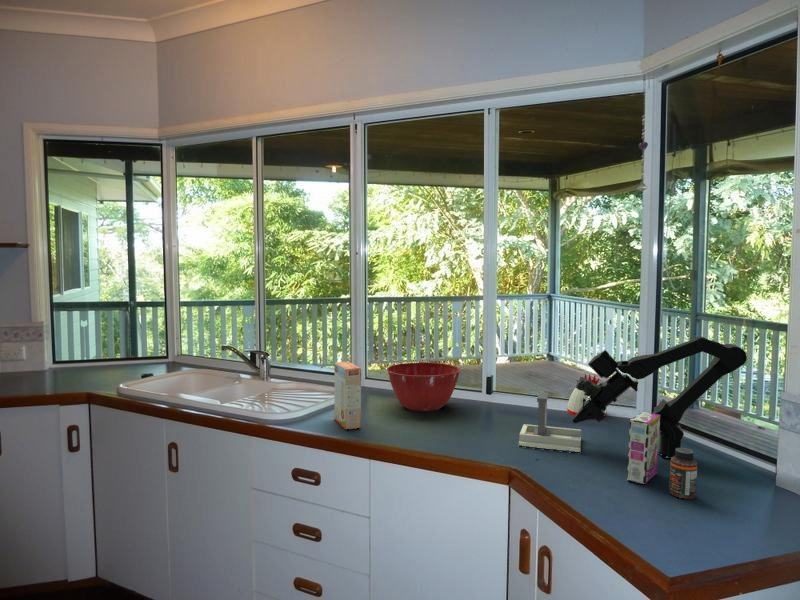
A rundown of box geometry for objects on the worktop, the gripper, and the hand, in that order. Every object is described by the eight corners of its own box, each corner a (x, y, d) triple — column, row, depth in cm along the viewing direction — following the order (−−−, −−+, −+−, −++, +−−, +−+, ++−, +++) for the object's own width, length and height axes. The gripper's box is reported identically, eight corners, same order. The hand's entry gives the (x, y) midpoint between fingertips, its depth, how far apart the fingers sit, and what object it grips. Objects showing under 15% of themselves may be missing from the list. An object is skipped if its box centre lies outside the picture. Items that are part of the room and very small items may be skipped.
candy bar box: (646, 486, 143) (648, 423, 142) (626, 481, 146) (628, 419, 145) (658, 473, 151) (661, 413, 150) (639, 469, 155) (641, 410, 153)
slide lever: (551, 433, 180) (552, 393, 179) (549, 441, 172) (550, 399, 171) (535, 431, 182) (535, 391, 181) (532, 439, 174) (533, 397, 173)
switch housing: (580, 439, 180) (581, 428, 180) (580, 453, 167) (580, 441, 167) (523, 433, 186) (523, 423, 185) (518, 446, 172) (519, 435, 172)
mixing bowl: (378, 401, 227) (378, 363, 226) (443, 396, 236) (444, 359, 235) (398, 420, 200) (399, 377, 199) (472, 414, 209) (472, 373, 208)
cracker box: (362, 428, 190) (362, 367, 188) (344, 430, 188) (344, 369, 186) (350, 417, 203) (350, 360, 201) (333, 419, 201) (333, 361, 199)
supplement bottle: (663, 492, 139) (665, 447, 139) (681, 488, 141) (683, 444, 141) (683, 501, 134) (685, 455, 133) (701, 498, 136) (703, 452, 135)
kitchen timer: (608, 419, 202) (610, 378, 201) (569, 417, 205) (570, 377, 204) (602, 409, 216) (604, 371, 215) (565, 407, 219) (566, 369, 218)
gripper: (592, 363, 180) (556, 395, 184) (592, 375, 162) (552, 409, 166) (618, 389, 178) (580, 421, 182) (621, 404, 160) (580, 438, 164)
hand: (573, 421), depth 174 cm, fingers closed
